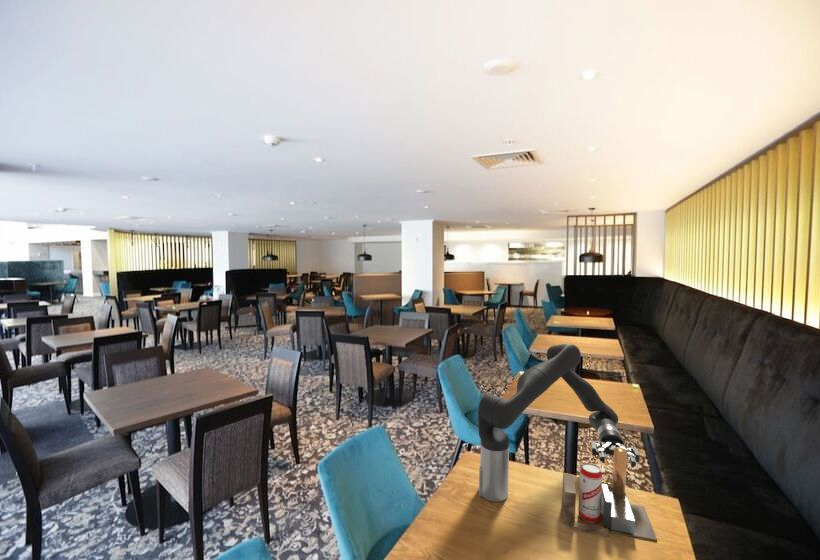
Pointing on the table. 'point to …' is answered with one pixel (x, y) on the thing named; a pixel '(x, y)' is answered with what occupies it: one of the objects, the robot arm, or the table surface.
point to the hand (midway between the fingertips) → (618, 462)
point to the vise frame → (641, 527)
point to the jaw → (617, 497)
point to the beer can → (590, 493)
